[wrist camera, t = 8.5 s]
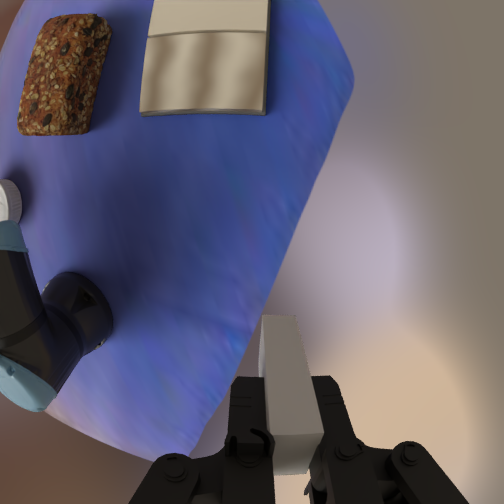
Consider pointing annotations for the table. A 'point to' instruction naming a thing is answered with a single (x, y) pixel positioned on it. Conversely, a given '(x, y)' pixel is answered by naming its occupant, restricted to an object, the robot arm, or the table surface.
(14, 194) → the ramekin
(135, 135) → the table surface
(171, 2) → the floor base
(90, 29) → the bread
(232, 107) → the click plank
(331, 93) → the table surface
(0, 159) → the table surface
